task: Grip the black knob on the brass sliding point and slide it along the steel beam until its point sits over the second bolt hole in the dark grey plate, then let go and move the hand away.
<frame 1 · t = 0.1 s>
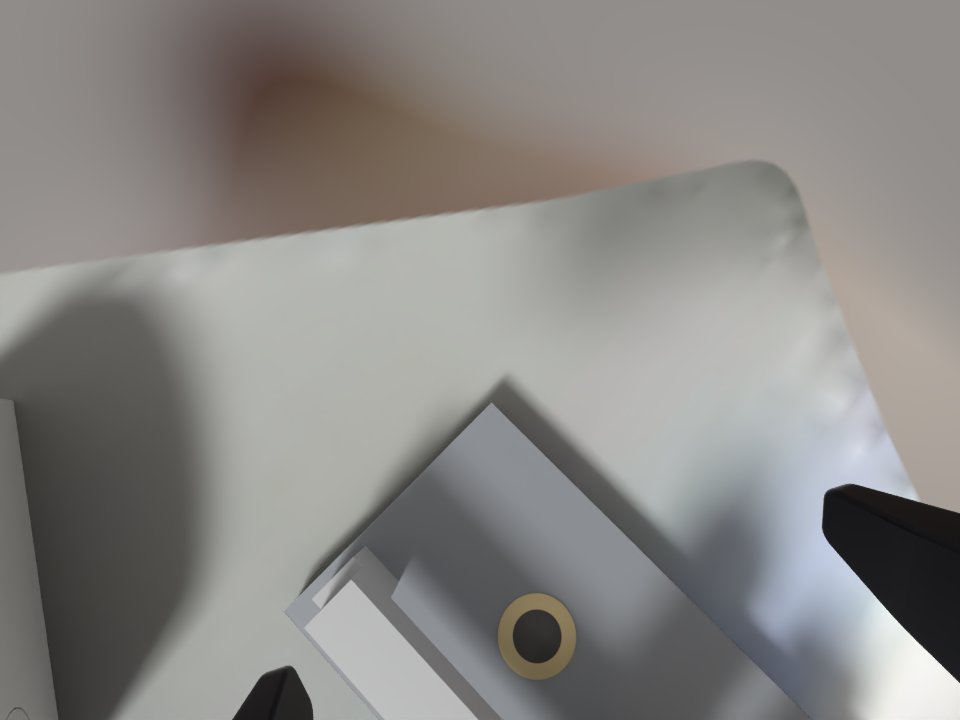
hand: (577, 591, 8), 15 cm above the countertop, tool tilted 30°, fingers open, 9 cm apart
white curved block: (17, 587, 21), on the countertop
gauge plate: (590, 703, 21), on the countertop
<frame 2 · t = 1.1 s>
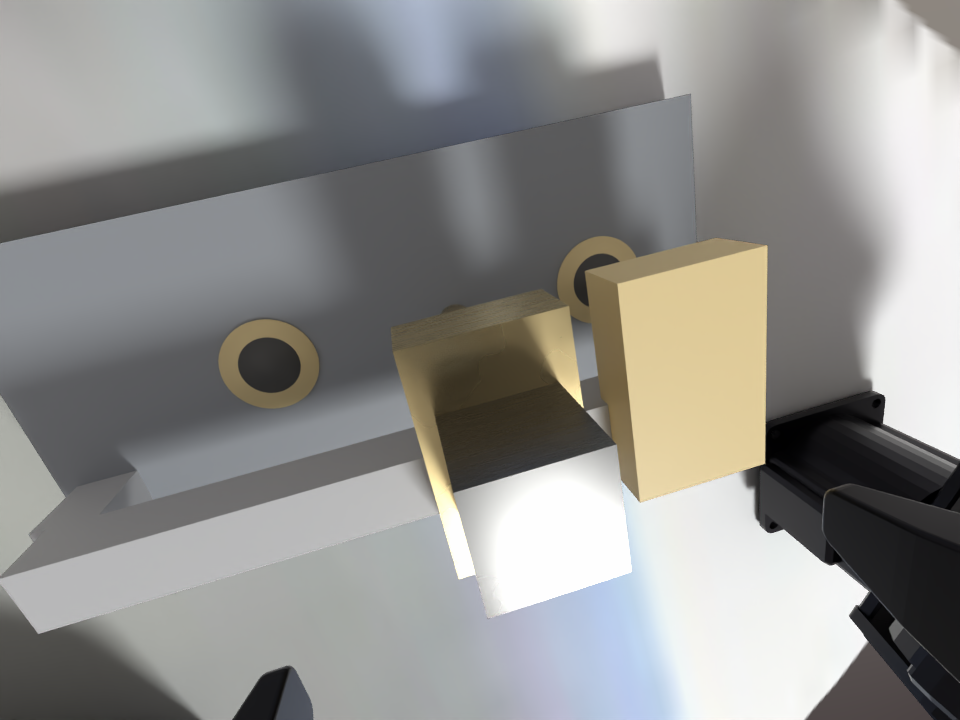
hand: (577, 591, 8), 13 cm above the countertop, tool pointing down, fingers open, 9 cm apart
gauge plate: (388, 336, 19), on the countertop
sliding point: (494, 424, 13), point 7 cm above the countertop, slide at 5.5 cm
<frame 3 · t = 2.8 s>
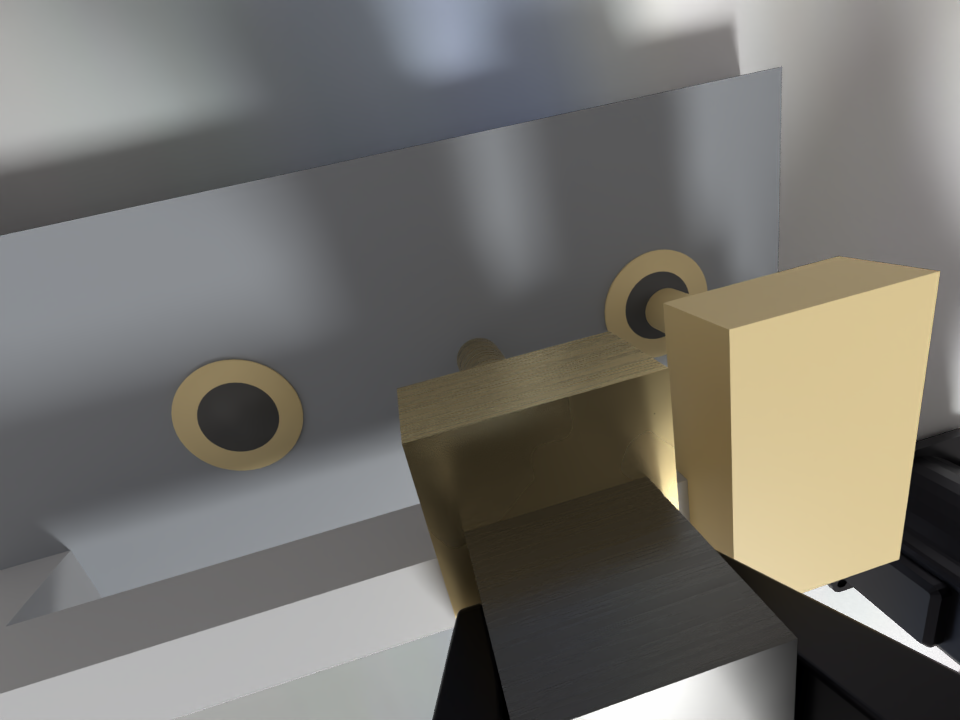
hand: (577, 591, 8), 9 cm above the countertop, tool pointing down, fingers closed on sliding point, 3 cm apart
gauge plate: (391, 373, 15), on the countertop
sliding point: (541, 516, 10), point 7 cm above the countertop, slide at 5.5 cm, touching gripper
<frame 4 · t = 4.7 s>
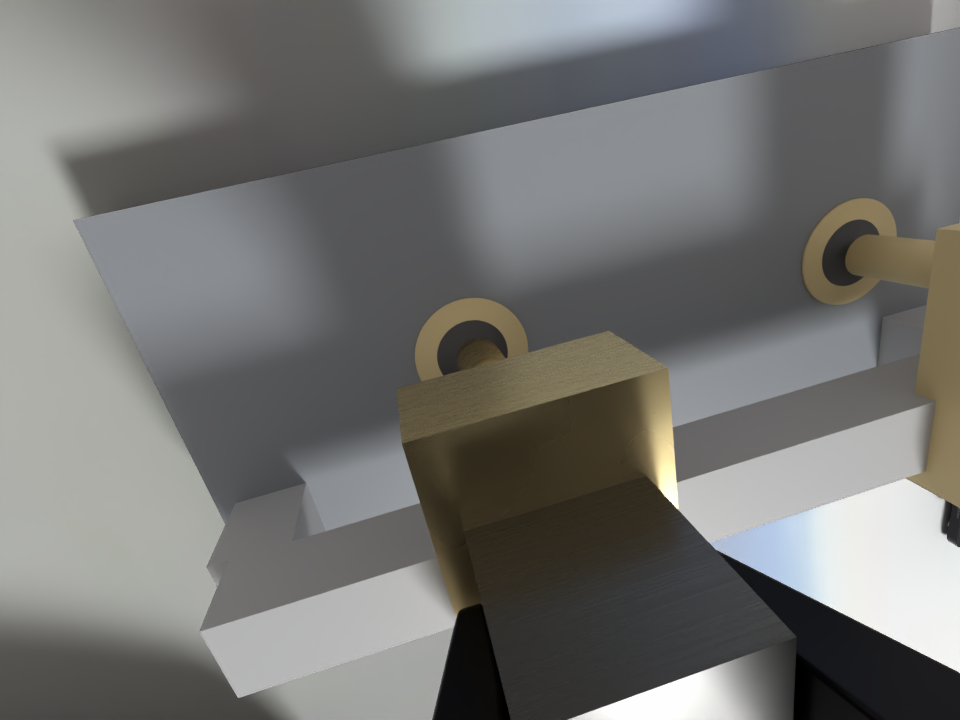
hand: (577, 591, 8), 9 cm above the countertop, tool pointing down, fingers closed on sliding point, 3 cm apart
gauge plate: (586, 321, 16), on the countertop
sliding point: (540, 515, 10), point 7 cm above the countertop, slide at 11.9 cm, touching gripper
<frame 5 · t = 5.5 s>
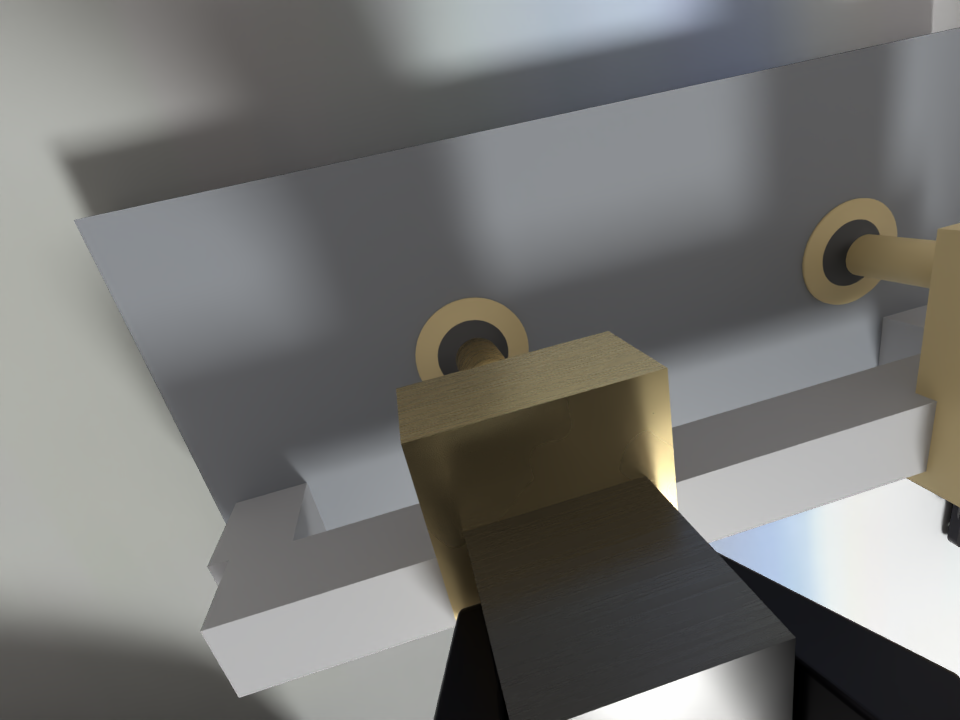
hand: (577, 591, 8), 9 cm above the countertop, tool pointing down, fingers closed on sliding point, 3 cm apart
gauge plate: (587, 321, 16), on the countertop
sliding point: (540, 515, 10), point 7 cm above the countertop, slide at 11.9 cm, touching gripper
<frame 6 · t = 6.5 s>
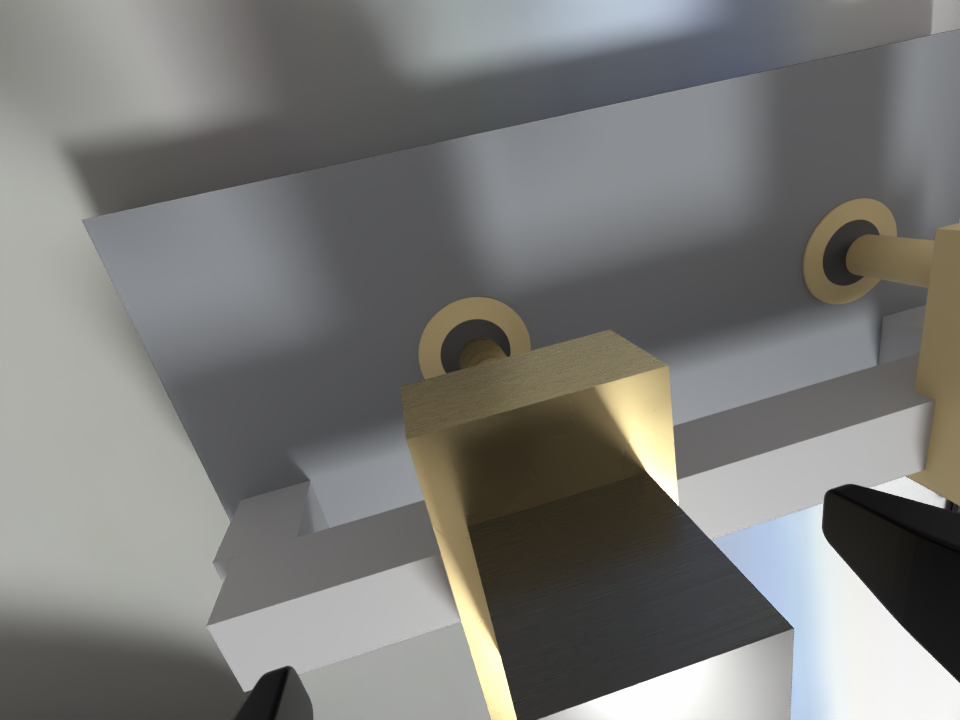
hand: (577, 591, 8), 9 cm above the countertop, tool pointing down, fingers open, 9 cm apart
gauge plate: (588, 320, 16), on the countertop
sliding point: (542, 512, 10), point 7 cm above the countertop, slide at 11.9 cm
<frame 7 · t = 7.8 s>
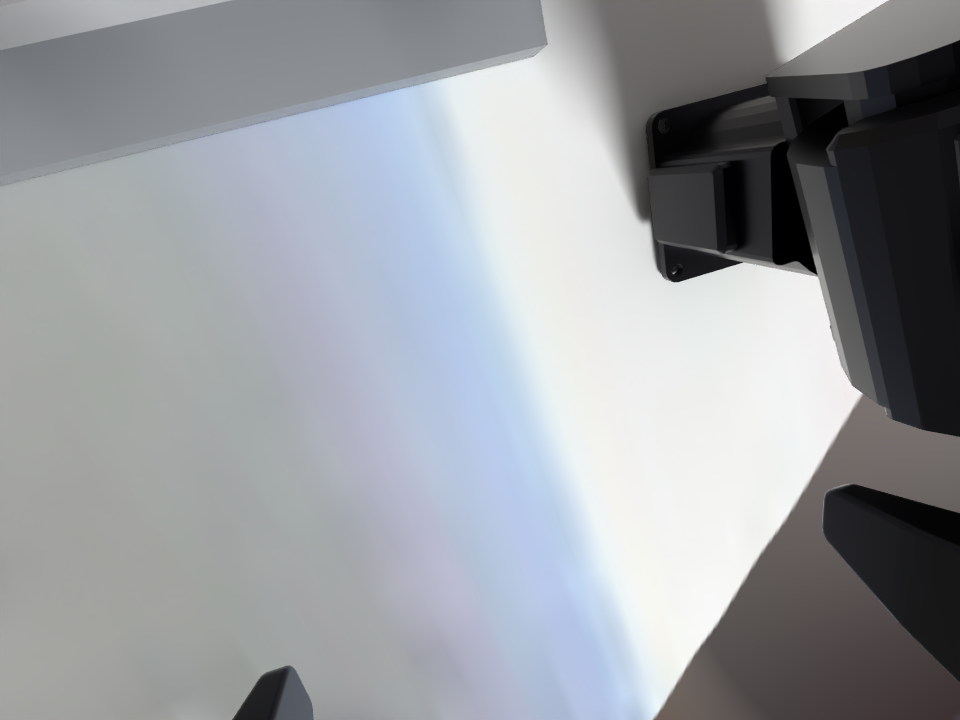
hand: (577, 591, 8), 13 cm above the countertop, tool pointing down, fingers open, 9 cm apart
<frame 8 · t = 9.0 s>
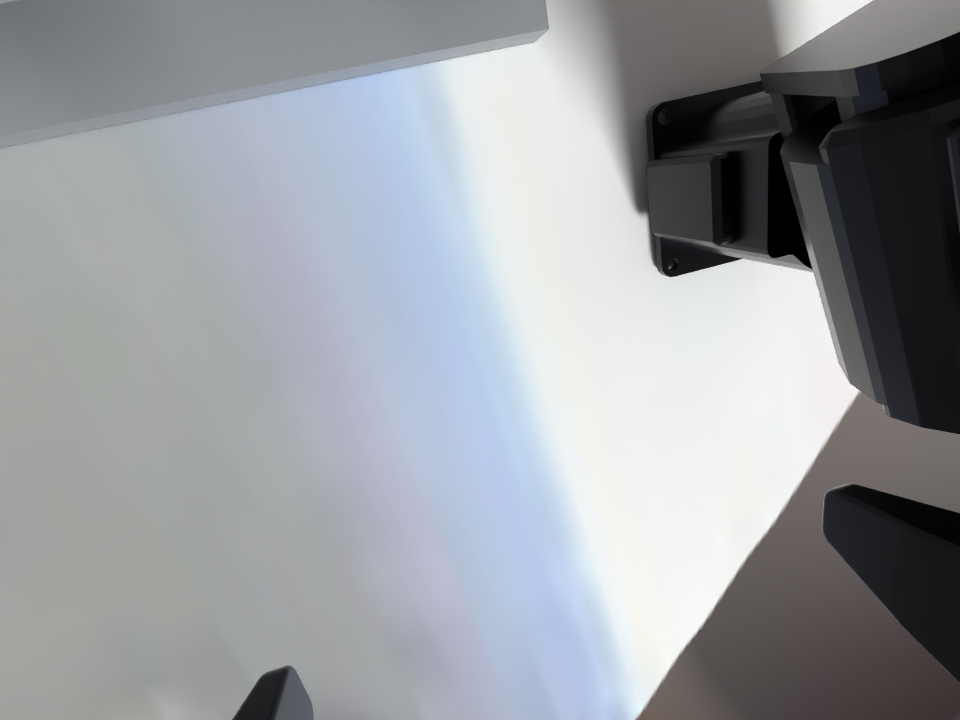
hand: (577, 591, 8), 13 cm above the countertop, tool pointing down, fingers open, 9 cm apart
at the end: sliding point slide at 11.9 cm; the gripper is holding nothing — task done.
